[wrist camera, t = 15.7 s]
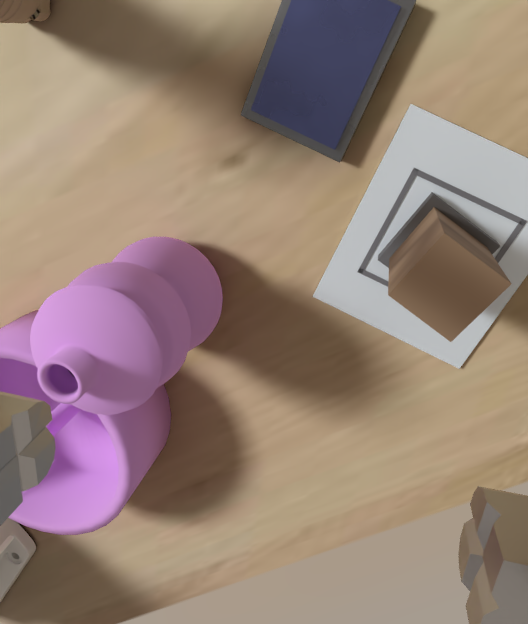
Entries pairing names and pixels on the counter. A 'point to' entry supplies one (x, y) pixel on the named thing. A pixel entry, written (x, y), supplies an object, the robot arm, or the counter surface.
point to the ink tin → (324, 68)
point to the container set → (108, 375)
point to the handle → (24, 10)
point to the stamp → (443, 268)
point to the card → (401, 206)
